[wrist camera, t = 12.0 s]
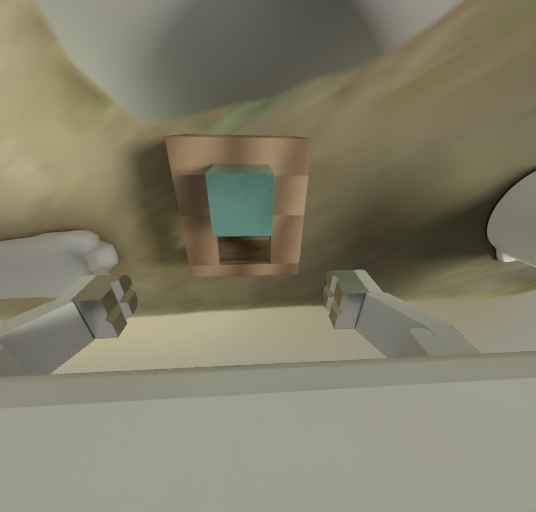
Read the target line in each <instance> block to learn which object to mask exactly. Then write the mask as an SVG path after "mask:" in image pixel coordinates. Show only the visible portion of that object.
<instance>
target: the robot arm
mask: <svg viewBox="0 0 536 512" xmlns="http://www.w3.org/2000/svg"><path fill="white" fill-rule="evenodd" d="M487 236H488V239H489V241H490V243H491V244H492V245H493V246H494V247H495V248H496V254H497V258H498V260H501V261H503V262H510V261H515V260H519V261H521V262H524V263H526V264H529V265H531V266H533V267H536V171H535V172H533V173H531V174H530V175H528V176H526V177H525V178H524V179H522V180H521V181H519V182H518V183H517V184H516V185H515V186H513V187H512V188H511V189H510V190H509V191H508V192H507V193H506V194H505V195H504V197H503V198H502V199H501V200H500V201H499V203H498V204H497V206H496V207H495V209H494V211H493V212H492V214H491V217H490V219H489V222H488V226H487ZM325 279H326V281H327V283H328V284H327V285H326V286H325V287H324V290H323V301H324V305H325V308H326V309H327V310H328V311H330V315H329V317H330V319H331V322H332V324H333V327H334V328H335V329H355V330H356V331H357V332H358V333H360V334H361V335H362V336H363V337H364V338H365V339H366V340H368V341H369V342H370V343H371V344H372V345H373V346H374V347H376V348H377V349H378V350H379V351H380V352H381V353H383V354H384V355H385V356H386V357H387V358H380V359H360V360H341V361H320V362H298V363H279V364H258V365H257V364H256V365H235V366H217V367H216V366H215V367H195V368H174V369H154V370H134V371H113V372H93V373H72V374H53V375H49V374H50V373H51V372H53V371H54V370H55V369H57V368H58V367H59V366H61V365H62V364H63V363H65V362H66V361H67V360H68V359H70V358H71V357H72V356H74V355H75V354H76V353H78V352H79V351H80V350H82V349H83V348H84V347H86V346H87V345H88V344H89V343H91V342H92V341H94V339H99V338H100V339H101V338H115V337H119V335H120V334H121V332H122V331H123V329H124V328H125V326H126V324H127V322H126V319H127V318H129V317H130V316H132V315H133V313H134V312H135V310H136V307H137V296H136V293H135V292H134V291H133V290H132V289H130V287H131V285H132V282H131V280H130V277H129V276H127V275H86V276H82V277H81V278H80V279H79V280H77V281H76V282H75V283H74V284H73V285H72V286H70V287H69V288H68V289H67V290H66V291H65V292H63V293H62V294H61V295H60V296H59V297H58V298H56V299H55V300H54V301H53V302H47V303H45V304H42V305H40V306H38V307H36V308H33V309H31V310H29V311H26V312H24V313H22V314H19V315H17V316H15V317H12V318H10V319H8V320H6V321H3V322H1V323H0V512H536V351H523V352H503V353H480V351H479V350H477V349H476V347H474V346H473V345H472V344H471V343H470V342H469V341H468V340H467V339H466V338H465V337H464V336H463V335H462V334H461V333H460V332H459V331H458V330H457V329H456V328H455V327H454V326H452V325H450V324H448V323H447V322H444V321H443V320H441V319H438V318H437V317H435V316H433V315H430V314H429V313H427V312H425V311H423V310H421V309H418V308H417V307H415V306H413V305H411V304H409V303H407V302H405V301H403V300H401V299H399V298H397V297H395V296H393V295H391V294H389V293H383V292H382V290H381V289H380V288H379V287H378V286H377V284H376V283H375V282H374V281H373V279H372V278H371V277H370V276H369V274H368V273H367V272H366V271H365V270H363V269H357V270H339V271H328V272H327V274H326V278H325Z"/></svg>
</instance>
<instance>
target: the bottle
mask: <svg viewBox="0 0 536 512" xmlns="http://www.w3.org/2000/svg"><path fill="white" fill-rule="evenodd" d="M117 263H118V255H117V252H116V250H115V248H114V246H113V245H111V244H109V243H107V242H104V241H102V240H100V239H99V235H97V234H95V233H93V232H91V231H90V230H75V231H65V232H52V233H43V234H40V235H37V236H34V237H27V238H20V239H13V240H5V241H0V299H15V298H39V297H44V298H58V297H59V296H60V295H61V294H62V293H63V292H65V291H66V290H67V289H68V288H69V287H70V286H72V285H73V284H74V283H75V282H76V281H77V280H79V279H80V278H81V277H82V276H86V275H110V273H109V271H110V270H111V269H112V268H113V267H114V266H115V265H116V264H117Z"/></svg>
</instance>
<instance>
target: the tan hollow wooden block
mask: <svg viewBox="0 0 536 512" xmlns="http://www.w3.org/2000/svg"><path fill="white" fill-rule="evenodd" d="M164 138H165V143H166V148H167V153H168V159H169V164H170V169H171V174H172V180H173V185H174V190H175V195H176V201H177V206H178V211H179V216H180V222H181V227H182V232H183V237H184V243H185V248H186V253H187V258H188V264H189V269H190V274H191V277H215V276H253V275H291V274H298V270H299V260H300V251H301V241H302V232H303V223H304V213H305V204H306V194H307V185H308V176H309V166H310V157H311V147H312V139H309V138H303V137H294V136H244V135H194V134H184V135H172V136H164ZM214 164H269V165H270V167H271V169H272V171H273V173H274V196H273V226H272V236H270V240H263V241H218V236H213V235H212V227H211V218H210V209H209V201H208V192H207V184H206V175H205V173H206V172H207V171H208V170H209V169H210V168H211V167H212V166H213V165H214Z"/></svg>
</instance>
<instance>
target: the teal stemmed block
mask: <svg viewBox="0 0 536 512" xmlns="http://www.w3.org/2000/svg"><path fill="white" fill-rule="evenodd" d="M205 175H206V184H207V192H208V201H209V209H210V218H211V227H212V235H213V236H272V226H273V196H274V173H273V171H272V169H271V167H270V165H269V164H214V165H213V166H212V167H211V168H210V169H209V170H208V171H207V172H206V173H205Z"/></svg>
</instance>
